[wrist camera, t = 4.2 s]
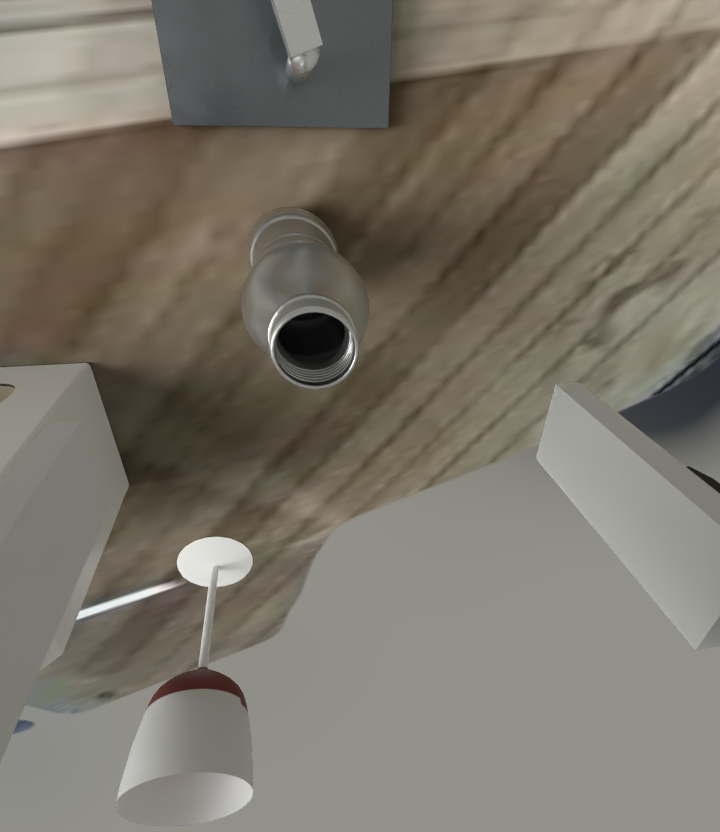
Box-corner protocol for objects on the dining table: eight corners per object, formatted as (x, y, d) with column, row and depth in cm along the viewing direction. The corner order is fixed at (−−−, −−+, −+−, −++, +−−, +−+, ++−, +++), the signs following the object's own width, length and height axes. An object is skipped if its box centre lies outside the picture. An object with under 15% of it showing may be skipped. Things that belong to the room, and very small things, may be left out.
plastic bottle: (277, 182, 33) (289, 231, 16) (350, 240, 36) (425, 333, 19) (231, 257, 35) (199, 369, 18) (304, 306, 38) (334, 441, 21)
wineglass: (188, 525, 48) (140, 768, 30) (271, 548, 52) (273, 776, 33) (159, 577, 51) (98, 826, 33) (238, 595, 55) (224, 827, 37)
